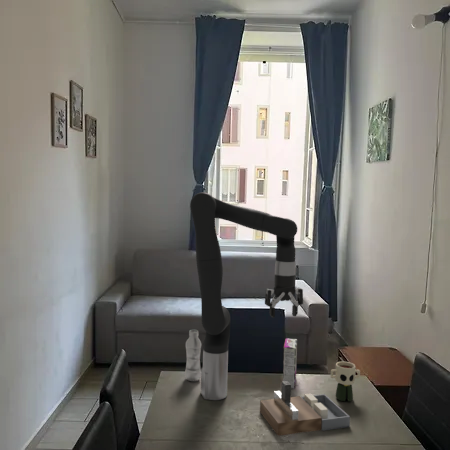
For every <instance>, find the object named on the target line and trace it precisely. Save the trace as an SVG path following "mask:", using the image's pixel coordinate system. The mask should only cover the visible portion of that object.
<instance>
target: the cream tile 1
mask: <svg viewBox="0 0 450 450" xmlns="http://www.w3.org/2000/svg"><path fill="white" fill-rule="evenodd" d="M313 395H314V394H312V393H305V394H304V395H303V396H304V400H305V401H306V402H307V403H308V404H309V405H310V406H311V407H312V408H313V409H314V403H318V400H317V399H316V398H315V397H314V396H313Z"/></svg>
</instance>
